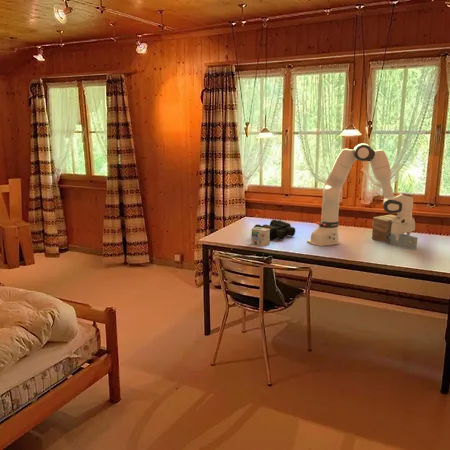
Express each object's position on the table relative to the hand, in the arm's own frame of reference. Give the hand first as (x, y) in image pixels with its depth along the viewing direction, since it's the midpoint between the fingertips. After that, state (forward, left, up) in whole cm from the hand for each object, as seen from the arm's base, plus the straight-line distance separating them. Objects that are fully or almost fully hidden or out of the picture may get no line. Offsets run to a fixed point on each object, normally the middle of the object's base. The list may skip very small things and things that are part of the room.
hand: (402, 239), depth 290 cm
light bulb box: (-75, +54, -5) cm, 93 cm away
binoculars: (-53, +64, -5) cm, 84 cm away
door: (0, 0, -5) cm, 5 cm away
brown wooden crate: (+7, +16, -5) cm, 18 cm away
